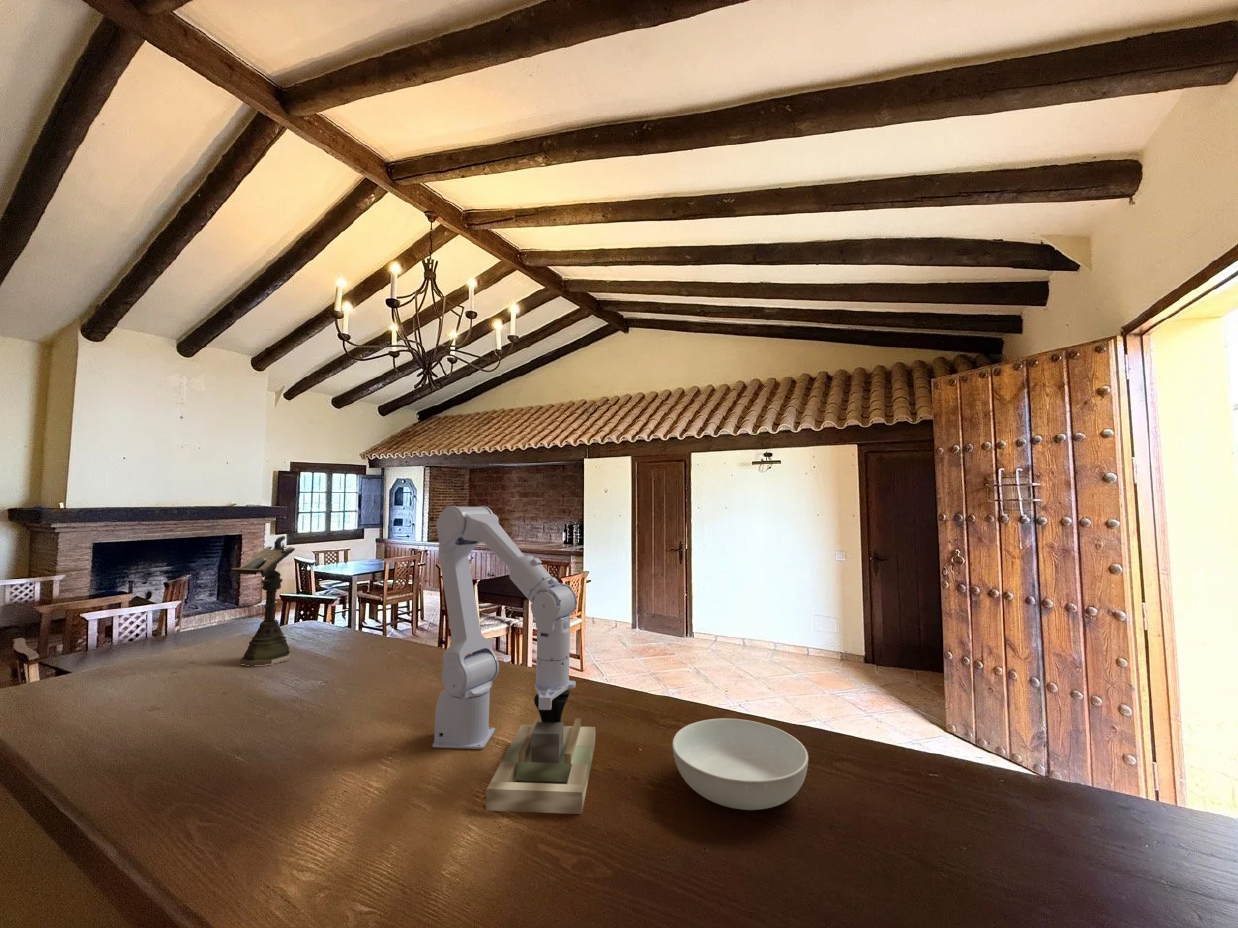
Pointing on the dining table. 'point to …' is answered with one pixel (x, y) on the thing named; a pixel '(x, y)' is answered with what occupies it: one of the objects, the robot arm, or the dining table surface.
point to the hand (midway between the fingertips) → (551, 736)
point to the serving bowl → (740, 762)
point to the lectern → (267, 607)
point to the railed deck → (543, 774)
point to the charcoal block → (547, 742)
